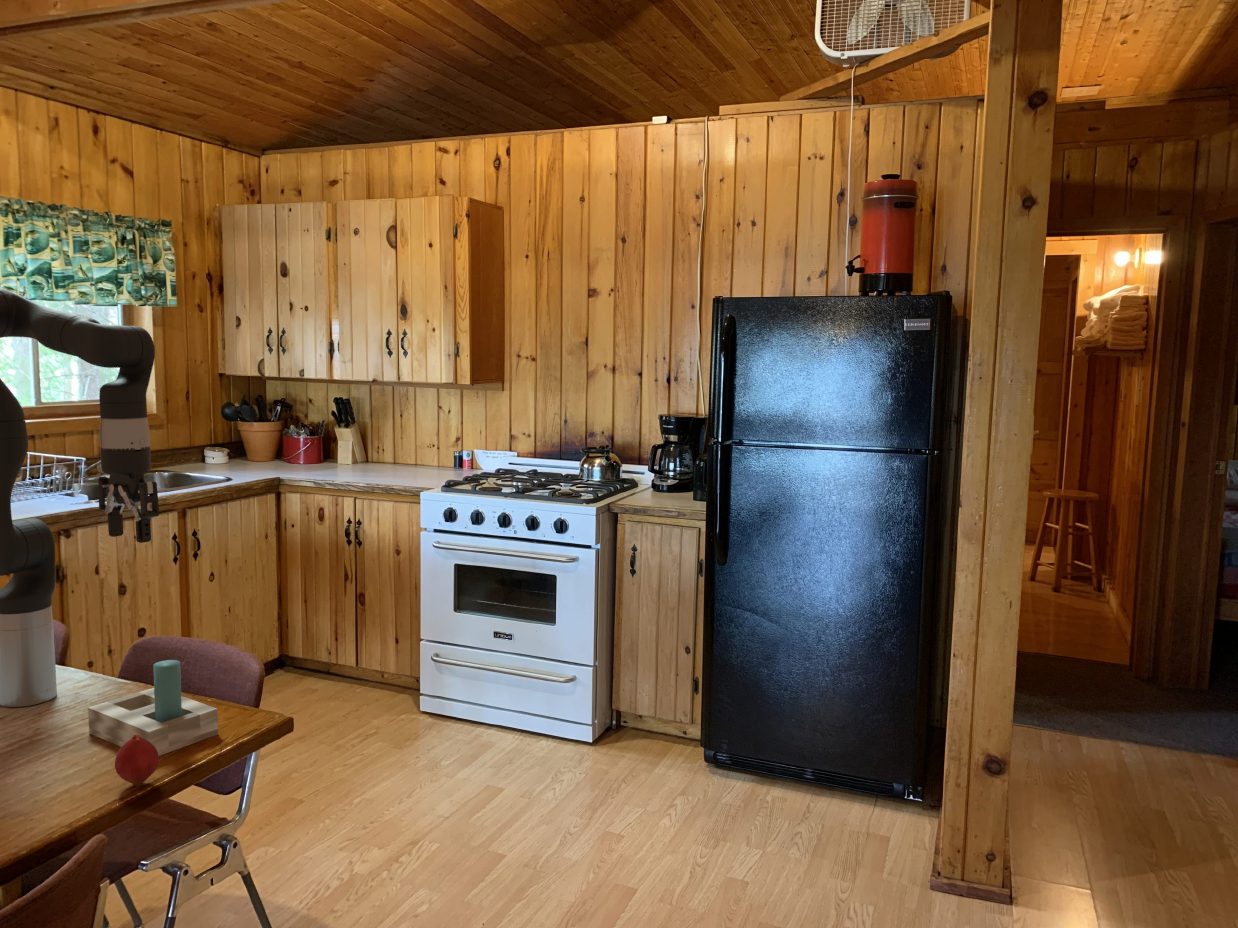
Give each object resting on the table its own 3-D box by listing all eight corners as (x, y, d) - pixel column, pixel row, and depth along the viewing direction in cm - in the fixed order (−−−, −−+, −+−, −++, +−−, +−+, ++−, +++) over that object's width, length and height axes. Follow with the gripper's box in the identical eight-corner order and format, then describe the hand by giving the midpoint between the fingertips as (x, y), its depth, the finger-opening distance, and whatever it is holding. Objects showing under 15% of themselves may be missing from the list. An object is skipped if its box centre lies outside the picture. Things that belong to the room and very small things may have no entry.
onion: (110, 784, 141) (107, 732, 140) (151, 772, 145) (149, 722, 144) (123, 797, 137) (120, 744, 136) (165, 785, 141) (163, 733, 140)
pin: (150, 734, 156) (148, 664, 155) (173, 727, 160) (171, 658, 158) (164, 740, 154) (162, 669, 153) (187, 732, 157) (185, 663, 156)
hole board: (89, 733, 159) (87, 707, 159) (157, 711, 169) (156, 686, 169) (150, 759, 150) (148, 731, 149) (218, 734, 159) (217, 708, 159)
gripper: (80, 443, 161) (85, 537, 162) (126, 449, 153) (131, 547, 155) (123, 440, 167) (128, 531, 169) (170, 445, 159) (174, 540, 161)
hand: (129, 538), depth 162 cm, fingers open, 8 cm apart
